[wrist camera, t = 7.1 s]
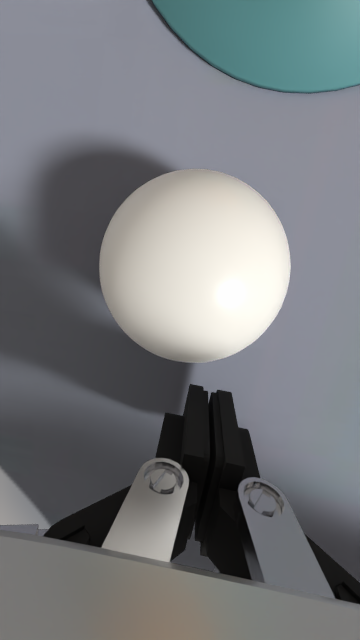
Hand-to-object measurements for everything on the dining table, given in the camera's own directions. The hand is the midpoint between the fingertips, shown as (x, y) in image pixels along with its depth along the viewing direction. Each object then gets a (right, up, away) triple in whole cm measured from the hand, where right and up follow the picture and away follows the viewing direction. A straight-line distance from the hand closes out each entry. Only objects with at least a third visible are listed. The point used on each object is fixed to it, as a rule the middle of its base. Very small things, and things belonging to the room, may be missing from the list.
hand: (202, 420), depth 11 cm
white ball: (-1, +5, -3) cm, 6 cm away
